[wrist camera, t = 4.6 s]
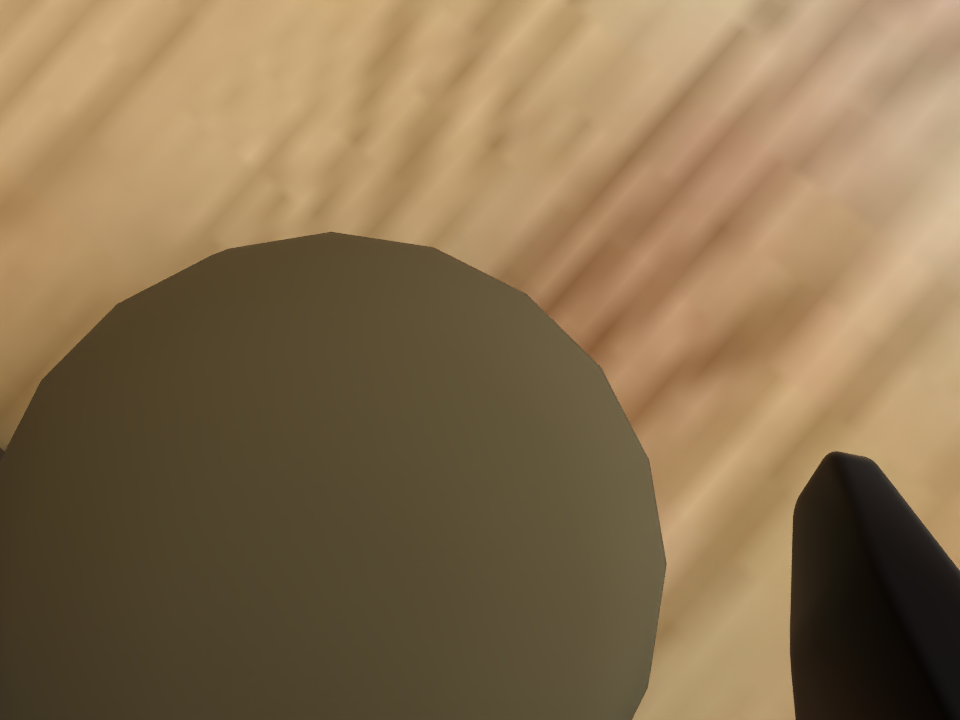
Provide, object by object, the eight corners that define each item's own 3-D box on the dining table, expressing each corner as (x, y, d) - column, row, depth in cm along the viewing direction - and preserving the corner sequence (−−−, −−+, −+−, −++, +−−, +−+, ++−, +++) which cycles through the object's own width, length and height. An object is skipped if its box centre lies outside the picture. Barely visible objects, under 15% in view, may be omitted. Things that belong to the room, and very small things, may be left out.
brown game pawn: (649, 418, 16) (982, 504, 5) (460, 683, 16) (400, 1324, 5) (386, 228, 16) (179, -67, 5) (196, 491, 16) (-400, 728, 5)
